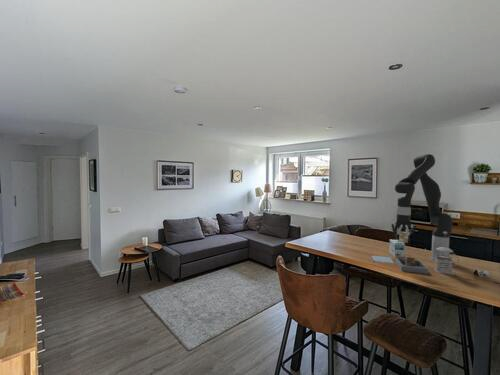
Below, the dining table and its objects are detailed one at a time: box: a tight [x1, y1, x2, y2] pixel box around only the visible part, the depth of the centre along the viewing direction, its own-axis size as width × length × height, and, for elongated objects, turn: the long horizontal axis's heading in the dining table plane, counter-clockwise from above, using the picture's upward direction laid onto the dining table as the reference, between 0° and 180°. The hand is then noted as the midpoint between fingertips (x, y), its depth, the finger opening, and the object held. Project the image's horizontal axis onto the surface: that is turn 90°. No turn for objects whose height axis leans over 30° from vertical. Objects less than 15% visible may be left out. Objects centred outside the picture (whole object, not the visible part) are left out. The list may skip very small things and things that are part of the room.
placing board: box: [371, 255, 394, 264], centre depth 165 cm, size 12×12×1 cm
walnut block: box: [404, 254, 416, 267], centre depth 153 cm, size 4×4×6 cm
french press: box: [434, 232, 460, 276], centre depth 143 cm, size 10×12×25 cm
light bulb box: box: [388, 239, 406, 258], centre depth 175 cm, size 11×7×11 cm, turn 169°
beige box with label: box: [398, 230, 409, 244], centre depth 152 cm, size 4×4×6 cm
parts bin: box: [395, 257, 429, 275], centre depth 149 cm, size 14×16×4 cm
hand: (402, 240), depth 152 cm, fingers closed on beige box with label, 4 cm apart
